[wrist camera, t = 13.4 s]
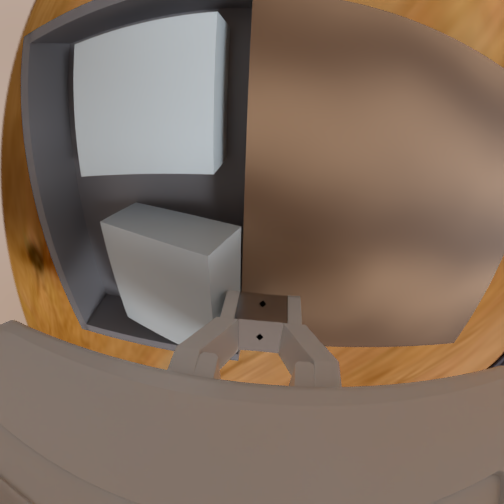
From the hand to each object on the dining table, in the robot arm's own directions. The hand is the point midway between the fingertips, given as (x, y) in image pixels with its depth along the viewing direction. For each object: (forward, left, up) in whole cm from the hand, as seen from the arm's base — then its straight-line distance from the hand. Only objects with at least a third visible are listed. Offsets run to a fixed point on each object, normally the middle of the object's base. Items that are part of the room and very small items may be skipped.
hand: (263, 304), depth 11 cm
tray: (-4, -6, -4) cm, 8 cm away
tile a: (-8, -5, -3) cm, 10 cm away
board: (-4, +6, -4) cm, 8 cm away
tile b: (0, -4, -2) cm, 4 cm away
